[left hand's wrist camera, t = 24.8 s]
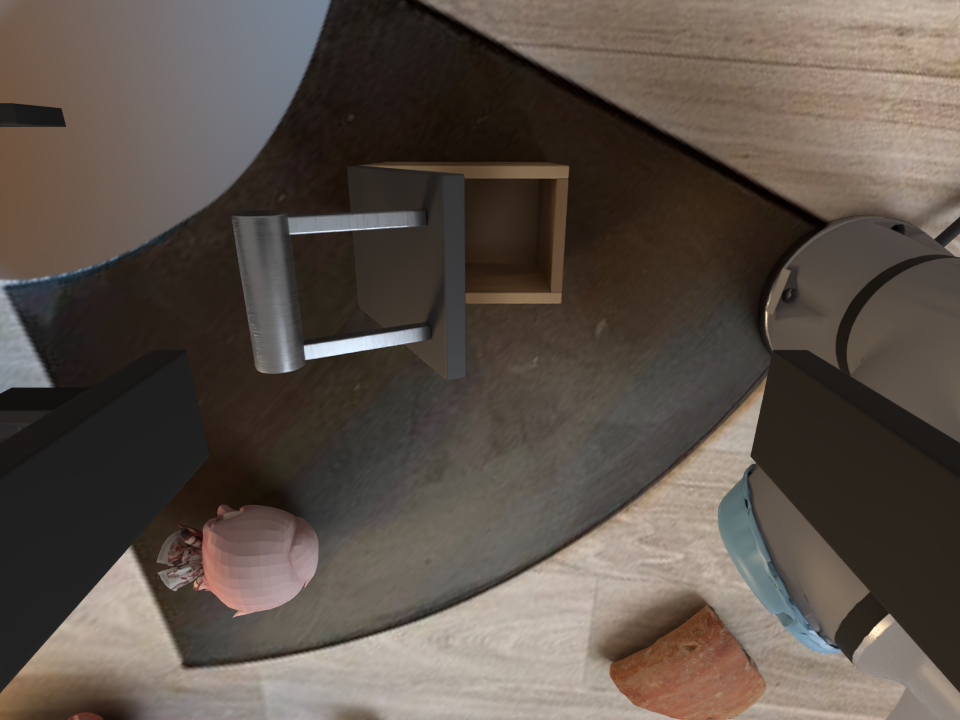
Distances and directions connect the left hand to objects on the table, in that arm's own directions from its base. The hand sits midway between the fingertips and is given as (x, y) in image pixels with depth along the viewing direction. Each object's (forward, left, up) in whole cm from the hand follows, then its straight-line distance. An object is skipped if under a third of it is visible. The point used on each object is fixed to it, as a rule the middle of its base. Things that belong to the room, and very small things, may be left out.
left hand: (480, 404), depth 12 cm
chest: (+1, -1, -36) cm, 36 cm away
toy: (+38, +14, -36) cm, 54 cm away
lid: (+3, -2, -19) cm, 19 cm away
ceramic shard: (+9, +58, -36) cm, 69 cm away
